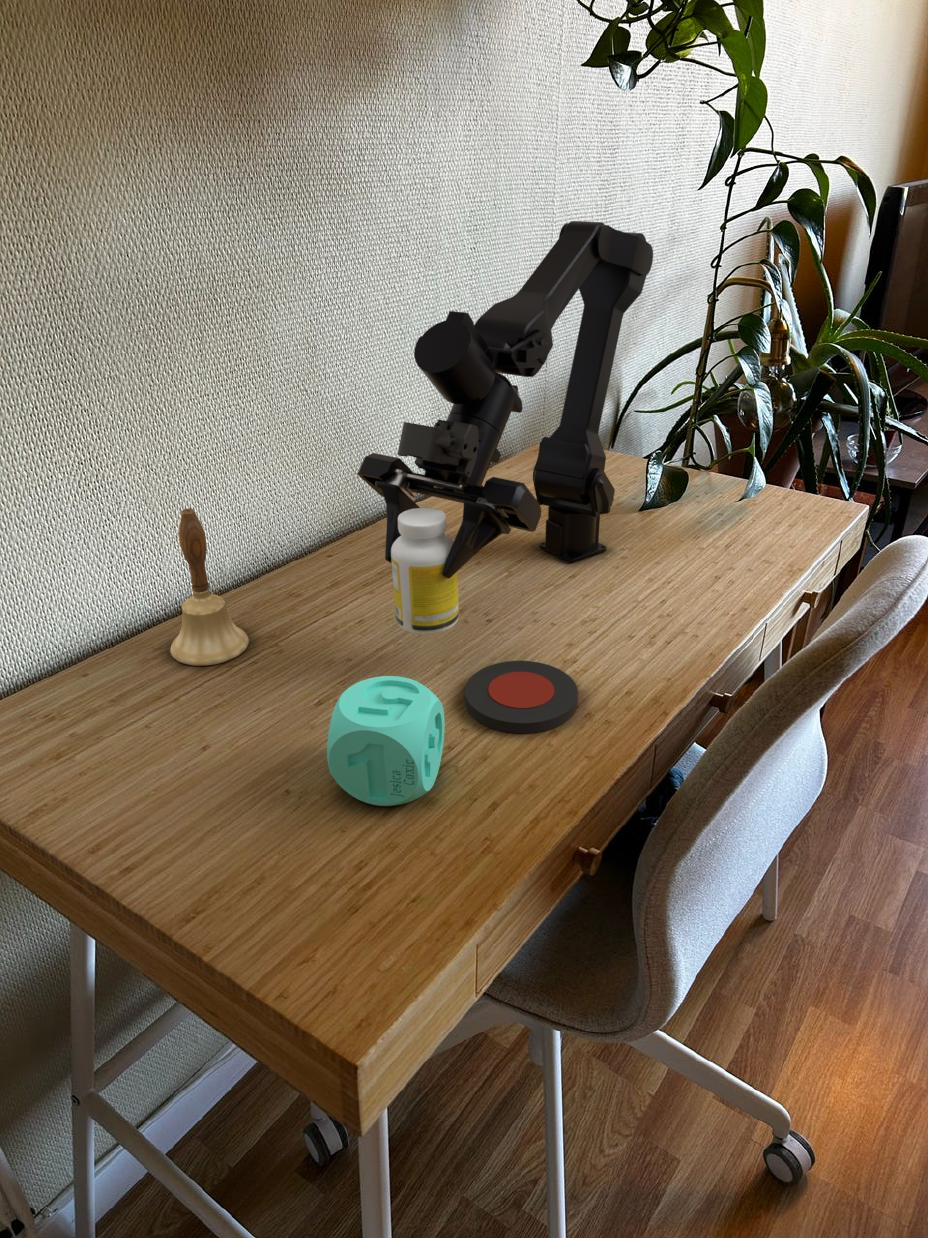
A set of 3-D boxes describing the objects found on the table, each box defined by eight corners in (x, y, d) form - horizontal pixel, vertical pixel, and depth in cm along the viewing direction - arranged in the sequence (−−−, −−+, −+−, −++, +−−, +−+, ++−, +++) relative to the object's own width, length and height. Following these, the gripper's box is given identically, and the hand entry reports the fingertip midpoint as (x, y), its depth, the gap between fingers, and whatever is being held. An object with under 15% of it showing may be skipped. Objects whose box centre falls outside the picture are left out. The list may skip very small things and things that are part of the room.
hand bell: (263, 634, 102) (244, 499, 94) (222, 671, 95) (198, 530, 87) (199, 623, 104) (175, 491, 96) (154, 659, 97) (125, 520, 90)
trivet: (529, 659, 96) (529, 648, 95) (601, 706, 88) (602, 695, 87) (443, 694, 90) (442, 683, 90) (511, 748, 83) (511, 736, 82)
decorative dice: (330, 800, 77) (322, 722, 73) (361, 744, 83) (354, 670, 80) (422, 813, 75) (418, 734, 71) (446, 755, 82) (443, 680, 78)
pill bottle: (471, 625, 93) (469, 519, 87) (416, 644, 89) (410, 535, 84) (436, 600, 97) (432, 498, 92) (384, 618, 94) (376, 513, 89)
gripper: (361, 373, 89) (298, 516, 87) (528, 398, 80) (464, 558, 78) (411, 429, 99) (356, 560, 96) (566, 457, 90) (510, 602, 87)
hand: (416, 568), depth 89 cm, fingers closed on pill bottle, 6 cm apart
